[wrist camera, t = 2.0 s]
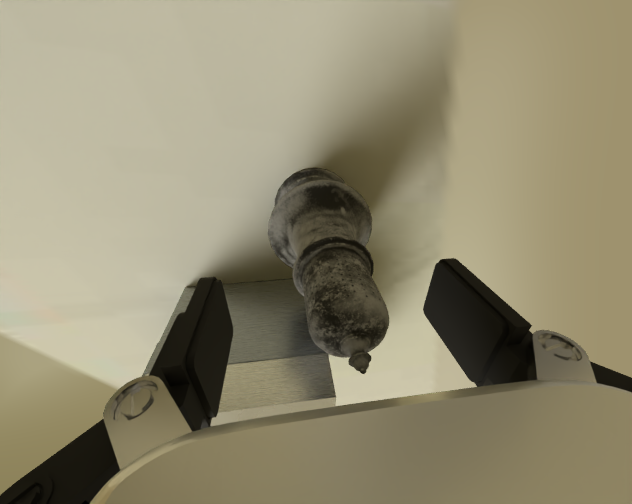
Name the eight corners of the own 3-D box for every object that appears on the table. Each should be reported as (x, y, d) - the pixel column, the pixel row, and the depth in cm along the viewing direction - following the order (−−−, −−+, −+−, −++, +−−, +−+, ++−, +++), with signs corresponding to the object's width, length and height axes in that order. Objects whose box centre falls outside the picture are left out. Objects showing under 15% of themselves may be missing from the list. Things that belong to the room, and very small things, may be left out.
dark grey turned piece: (298, 257, 19) (321, 440, 9) (251, 193, 16) (207, 364, 6) (368, 220, 18) (479, 379, 8) (332, 144, 15) (441, 251, 5)
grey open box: (157, 289, 19) (71, 431, 11) (314, 277, 20) (336, 396, 12) (200, 384, 26) (166, 512, 18) (314, 370, 27) (329, 485, 19)
